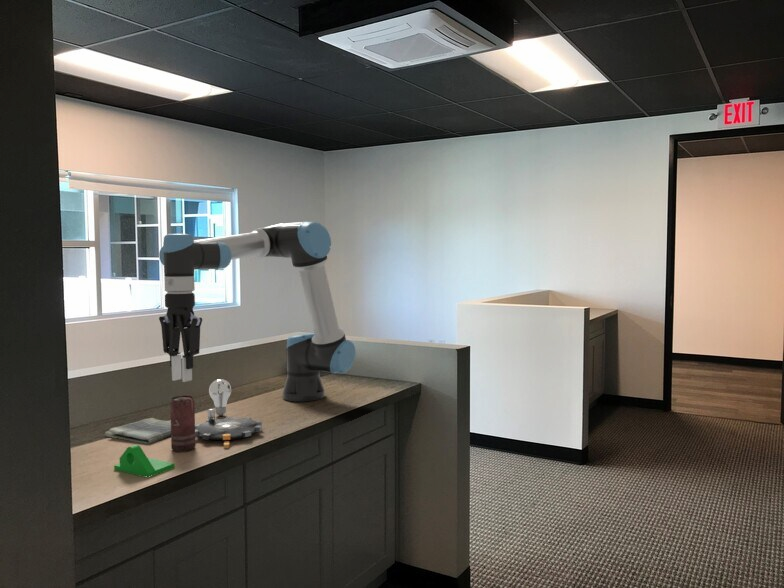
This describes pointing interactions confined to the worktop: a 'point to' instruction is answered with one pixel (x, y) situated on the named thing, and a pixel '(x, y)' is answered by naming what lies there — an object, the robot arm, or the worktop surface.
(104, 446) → the worktop surface
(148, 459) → the bracket
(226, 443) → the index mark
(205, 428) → the sprocket
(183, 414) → the can
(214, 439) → the sprocket base
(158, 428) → the dish towel
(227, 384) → the light bulb
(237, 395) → the worktop surface
